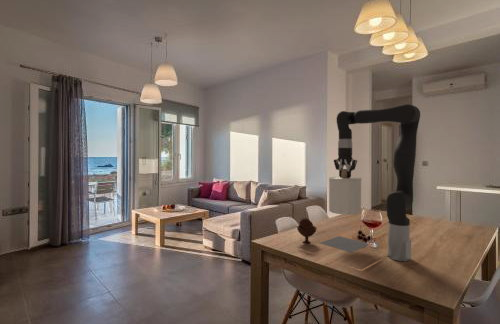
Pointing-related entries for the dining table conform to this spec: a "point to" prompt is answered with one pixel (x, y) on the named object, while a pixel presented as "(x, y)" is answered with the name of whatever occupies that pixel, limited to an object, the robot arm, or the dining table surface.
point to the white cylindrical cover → (345, 194)
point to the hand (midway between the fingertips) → (344, 177)
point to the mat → (345, 244)
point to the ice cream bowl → (306, 229)
